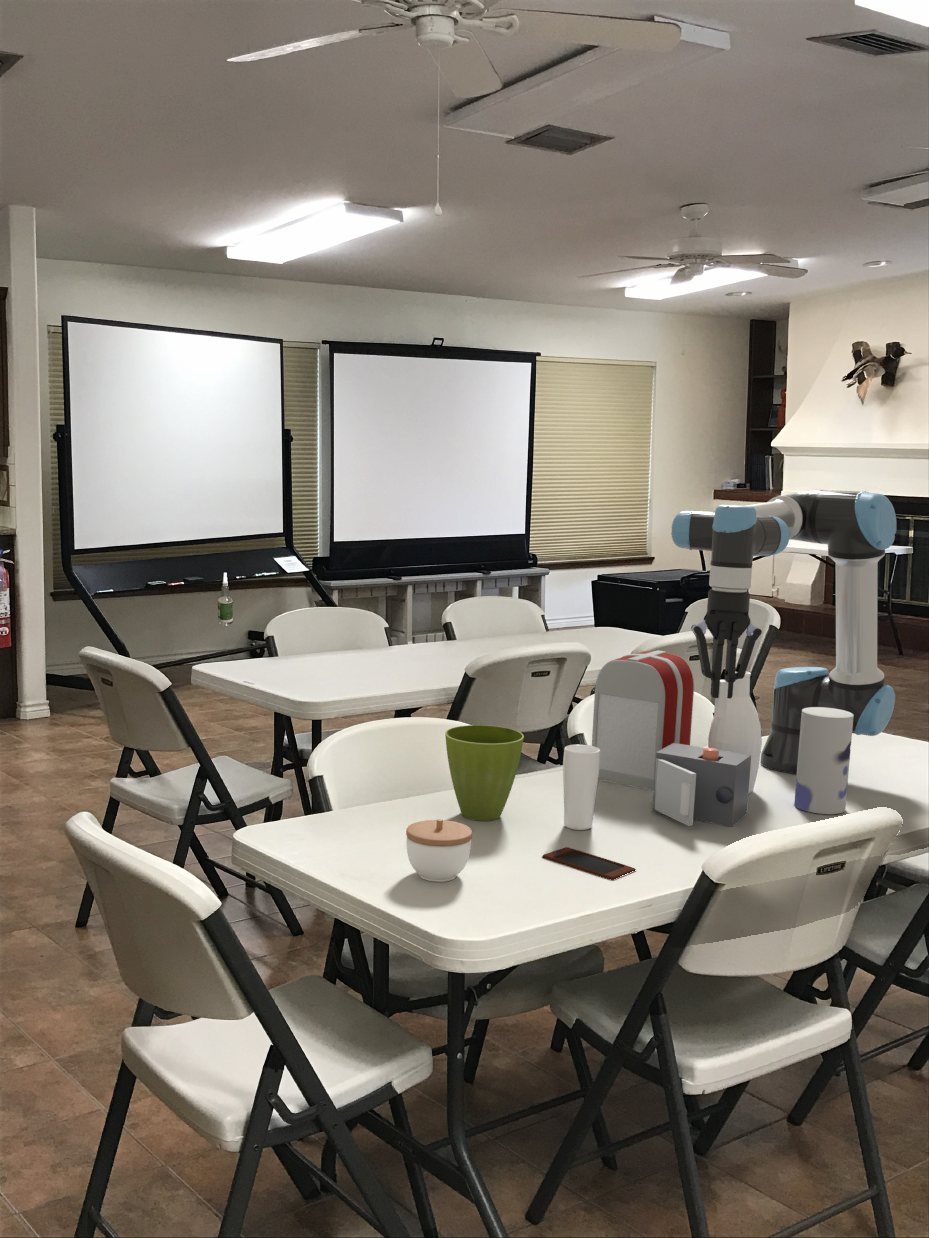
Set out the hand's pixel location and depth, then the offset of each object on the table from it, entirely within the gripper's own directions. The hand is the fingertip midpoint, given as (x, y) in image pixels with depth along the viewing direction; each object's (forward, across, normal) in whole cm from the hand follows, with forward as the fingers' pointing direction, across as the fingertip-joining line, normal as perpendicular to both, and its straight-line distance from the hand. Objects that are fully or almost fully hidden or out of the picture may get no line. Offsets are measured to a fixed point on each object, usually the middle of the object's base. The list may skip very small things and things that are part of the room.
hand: (719, 715), depth 222 cm
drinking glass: (+22, +25, 0) cm, 34 cm away
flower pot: (+23, +43, -6) cm, 49 cm away
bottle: (+22, -12, -28) cm, 38 cm away
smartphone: (+23, +27, +20) cm, 41 cm away
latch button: (+11, -1, -8) cm, 14 cm away
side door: (+21, +7, -4) cm, 23 cm away
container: (+22, -27, -16) cm, 38 cm away
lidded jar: (+23, +53, +28) cm, 64 cm away
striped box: (+22, +6, -37) cm, 44 cm away
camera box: (+22, 0, -11) cm, 24 cm away
